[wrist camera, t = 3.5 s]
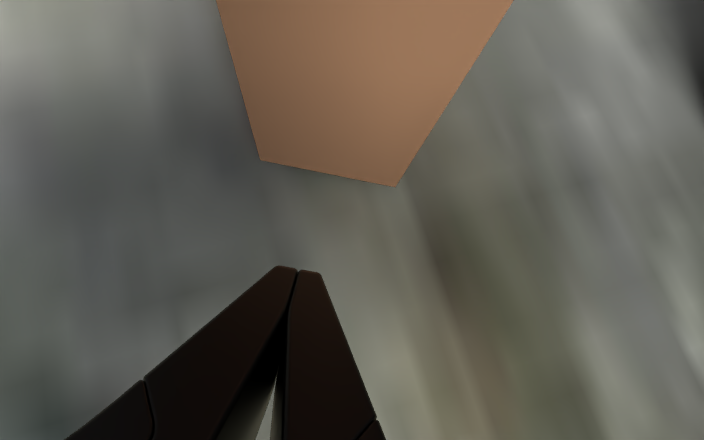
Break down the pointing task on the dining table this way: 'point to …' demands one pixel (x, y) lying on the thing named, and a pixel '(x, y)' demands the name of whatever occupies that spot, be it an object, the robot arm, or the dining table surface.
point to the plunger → (352, 76)
